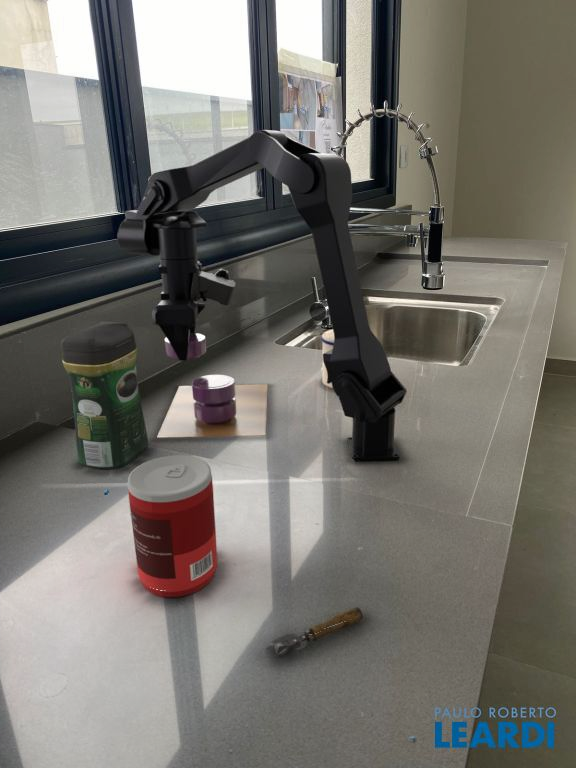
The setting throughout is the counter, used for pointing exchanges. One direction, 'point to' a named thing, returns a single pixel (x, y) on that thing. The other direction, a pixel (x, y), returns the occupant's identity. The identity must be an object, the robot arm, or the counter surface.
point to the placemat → (242, 424)
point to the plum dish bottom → (215, 411)
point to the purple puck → (213, 389)
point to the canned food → (173, 524)
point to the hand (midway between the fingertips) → (186, 354)
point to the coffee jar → (105, 395)
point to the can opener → (316, 631)
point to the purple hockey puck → (189, 347)
